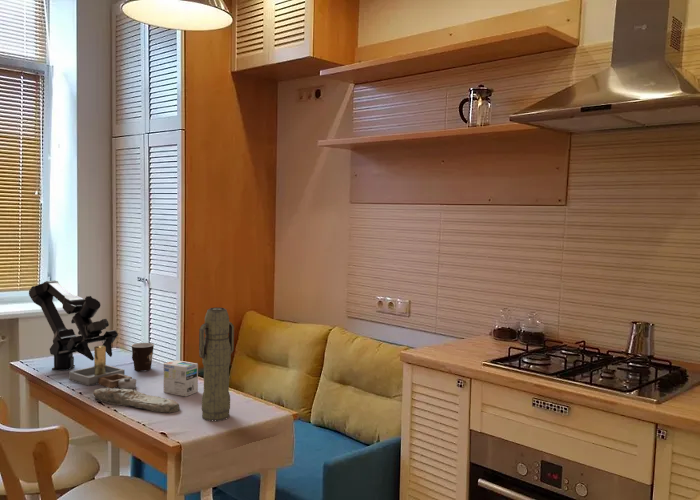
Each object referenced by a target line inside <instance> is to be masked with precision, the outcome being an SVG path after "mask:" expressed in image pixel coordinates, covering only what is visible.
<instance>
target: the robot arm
mask: <svg viewBox="0 0 700 500" xmlns="http://www.w3.org/2000/svg"><path fill="white" fill-rule="evenodd" d="M28 295H29V297H30V299H31V300H32V302H33V303H34V304H36V305H37V306H39V308H41V311H42V313H43V314H44V316H45V319H46V321H47V323H48V324H49V327H50V330H52V333H53V338H52V345H51V346H50V347H49V355H51V356H53V367H52V368H51V370H54V371H55V370H56V371H68V370H71V369H72V368H75V367H76V365H75V363H74V362H75V357H74V356H73V354H74V353H78V354H81V355H83V356H84V357H86V358H87V359H89V360H90V361H94V355H93V353H92V352H91V350H90V348H89V344H92V343H97V342H102V345H101V346H106V354H107V355H108V356H109V357H110V358H111V357H112V356H113V350H112V343H114V341H115V340H116V339H117V337H118V336H119V333H118V331H117V330H114V329H112V330H107V331H105V333H103V330H105V329H107V327H109V326H110V323H109V321H108V320H107V318H102V319H100V320H98V321H93V320H92V318H95V316H96V314H97V312H98V311H99V309H100V308H101V302H100V301H99V300H98V299H96V298H93V297H92V296H91V295H88V296H87V295H86V296H85V297H84V298H83V297H81V296H78V295H74V294H71V292H69V291H68V290H67V289H66V288H65V287H63V286H62V285H61V284H60V283H59V281H58V280H45V281H44V282H42V283H39V284H37V285H33V286H31V288H30V289H29V290H28ZM54 298H55V299H56V300H57V301H59V302H60V303H61V305H62V309H63V310H64V311H65V313H66V315H73V314H74V315H73V316H72V318H71V320H70V322H71V323H70V324H75V325H76V327H77V329H78V332H77V334H78V335H76V333H75V331H74V328H67V327H66V325H65V323H64V321H63V319H62V317H61V315H60V313H59V311H58V309H57V307H56V305H55V303H54V301H53V299H54ZM102 333H103V335H100V334H102Z"/></svg>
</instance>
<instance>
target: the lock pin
mask: <svg viewBox="0 0 700 500" xmlns="http://www.w3.org/2000/svg"><path fill="white" fill-rule="evenodd" d="M93 353H94V355H93V357H94V360H93V361H94V366H93V367H94V376H97V375H101V374H106V365H107V363H106V362H107V357H106V356H107V355H106V354H107V352H106V346H102V345H97V346H96V345H95V346H94V352H93Z"/></svg>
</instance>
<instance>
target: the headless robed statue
mask: <svg viewBox="0 0 700 500" xmlns="http://www.w3.org/2000/svg"><path fill="white" fill-rule="evenodd" d="M198 331H199V333H198V353H199V354H198V355H199V358H201V359H202V360H201V361H202V362H201V363H202V365H203V393H202V395H201V412H202V413H201V417H202V420H204V419H205V420H204V421H207V420H210V421H209V422H218V421H217V420H221V421H224V420H223V419H225V420H227V419H229V418H230V410H231V393H230V392H229V391H230V390H229V388H230V386H229V384H230V364H231V361H232V360H231V357H232V353H234V350H235V349H234V348H235V345H234V344H235V339H234V338H235V326H234V324H233V323H232V322H230V317H229V312H228V310H227V309H226V308H224V307H210V308H209V309H207V311H206V313H205V316H204V323H202V324H201V325H200V327H199V329H198ZM228 417H229V418H228ZM226 418H227V419H226ZM212 420H213V421H212ZM215 420H216V421H215Z"/></svg>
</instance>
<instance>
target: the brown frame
mask: <svg viewBox="0 0 700 500" xmlns="http://www.w3.org/2000/svg"><path fill="white" fill-rule="evenodd" d="M98 385H100V386H102V387H104V388H111V389H122V388H124V389H132V390H135V389H136V388H137V380H136V379H135V378H133V376H129V375H126V374H124V375H123V374H119V373H117V374H113V375H108V376H104V377H100V378H99V384H98Z"/></svg>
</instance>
